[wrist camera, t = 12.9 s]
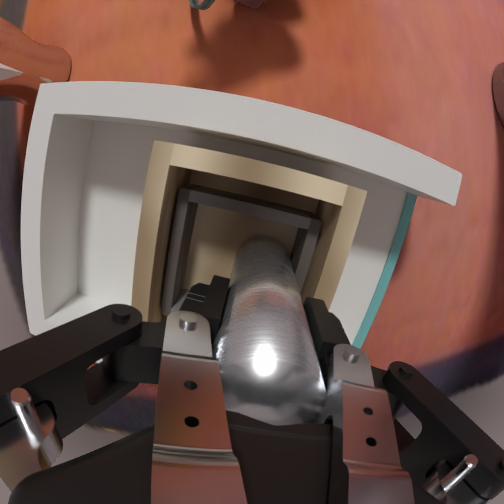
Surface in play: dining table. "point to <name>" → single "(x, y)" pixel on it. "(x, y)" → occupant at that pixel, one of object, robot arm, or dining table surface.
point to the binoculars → (248, 0)
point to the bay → (201, 136)
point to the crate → (235, 224)
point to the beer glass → (28, 65)
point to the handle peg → (267, 340)
